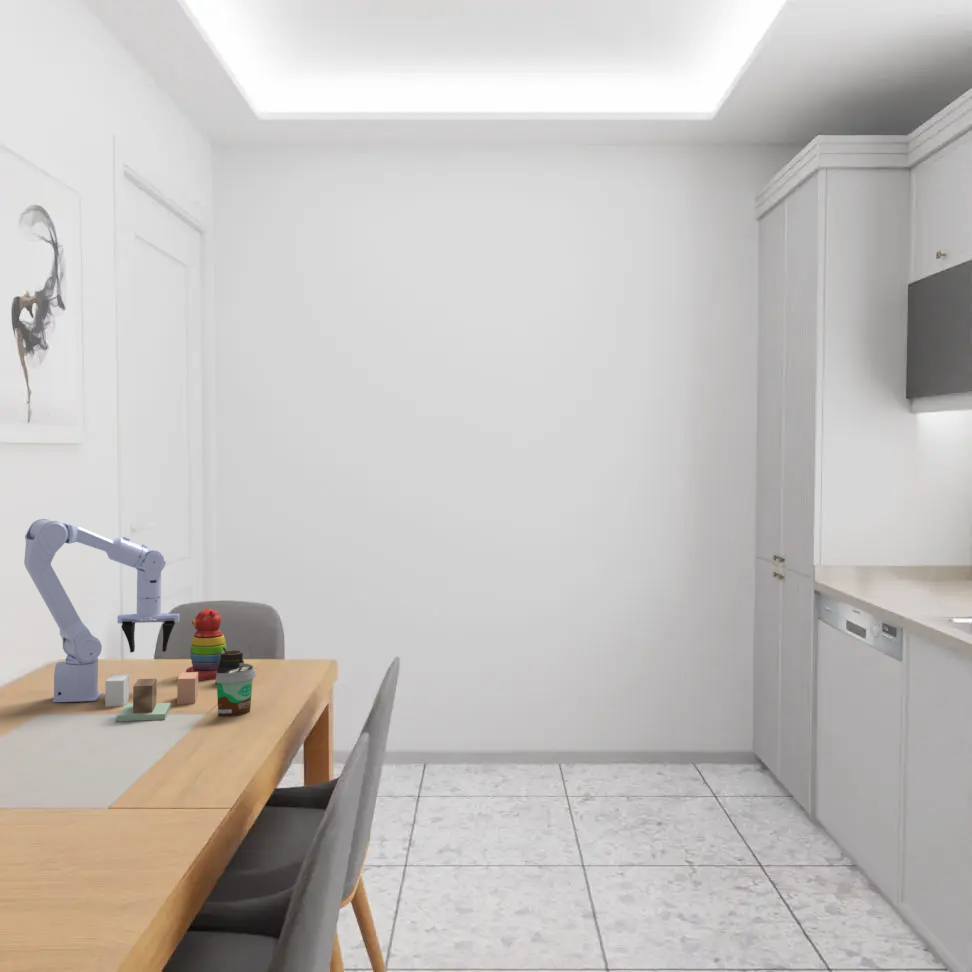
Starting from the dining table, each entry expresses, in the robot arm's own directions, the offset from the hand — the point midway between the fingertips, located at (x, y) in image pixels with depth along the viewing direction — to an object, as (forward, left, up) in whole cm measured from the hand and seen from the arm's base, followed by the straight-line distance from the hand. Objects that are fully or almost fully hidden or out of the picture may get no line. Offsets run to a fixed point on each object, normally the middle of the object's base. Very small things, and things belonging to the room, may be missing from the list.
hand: (148, 651), depth 233 cm
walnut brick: (+3, -25, -8) cm, 26 cm away
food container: (+24, -26, -10) cm, 37 cm away
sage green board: (+3, -25, -9) cm, 27 cm away
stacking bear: (+13, +13, -10) cm, 21 cm away
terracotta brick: (+11, -13, -10) cm, 20 cm away
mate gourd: (+20, +4, -10) cm, 23 cm away
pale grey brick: (-5, -13, -10) cm, 17 cm away
